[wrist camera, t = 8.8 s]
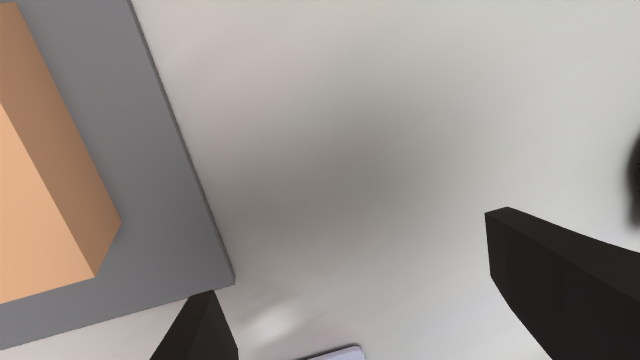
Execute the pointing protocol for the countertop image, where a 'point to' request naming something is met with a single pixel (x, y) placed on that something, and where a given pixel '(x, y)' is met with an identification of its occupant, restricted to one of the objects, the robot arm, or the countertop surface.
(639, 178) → the tape measure
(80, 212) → the card case
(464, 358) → the countertop surface
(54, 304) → the mat
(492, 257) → the robot arm
